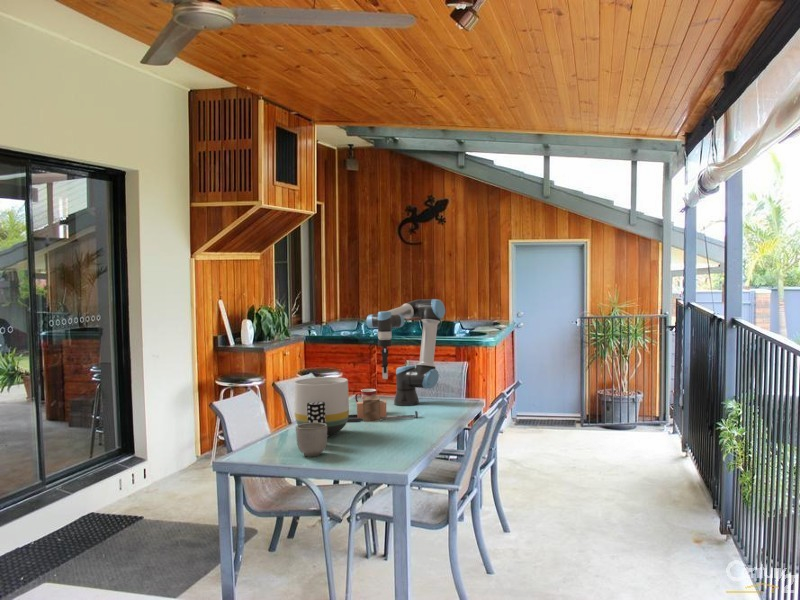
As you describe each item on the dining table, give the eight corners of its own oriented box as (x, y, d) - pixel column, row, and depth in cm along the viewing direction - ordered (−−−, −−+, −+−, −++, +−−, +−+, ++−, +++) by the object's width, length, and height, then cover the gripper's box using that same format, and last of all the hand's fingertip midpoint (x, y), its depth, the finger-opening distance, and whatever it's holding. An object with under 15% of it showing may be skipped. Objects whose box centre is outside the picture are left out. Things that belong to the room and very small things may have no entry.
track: (361, 420, 383) (360, 414, 383) (361, 418, 388) (360, 413, 388) (417, 418, 385) (417, 412, 385) (417, 416, 390) (416, 411, 390)
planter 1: (360, 432, 354) (358, 378, 353) (325, 443, 332) (323, 386, 331) (319, 427, 369) (318, 375, 368) (284, 437, 347) (282, 382, 346)
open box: (363, 421, 380) (363, 400, 380) (363, 417, 392) (363, 396, 392) (380, 420, 380) (379, 399, 380) (380, 416, 392) (379, 396, 392)
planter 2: (334, 453, 311) (333, 424, 310) (310, 460, 300) (309, 430, 300) (313, 449, 320) (312, 421, 320) (290, 455, 310) (289, 426, 309)
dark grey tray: (343, 422, 379) (343, 419, 379) (344, 418, 391) (343, 414, 391) (360, 421, 380) (359, 418, 380) (360, 417, 392) (360, 414, 392)
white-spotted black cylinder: (304, 446, 327) (303, 403, 326) (318, 443, 332) (317, 400, 332) (315, 449, 321) (314, 405, 320) (330, 445, 327) (328, 402, 326)
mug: (379, 412, 405) (378, 389, 405) (373, 415, 397) (372, 391, 396) (359, 411, 410) (358, 388, 409) (353, 414, 401) (352, 390, 401)
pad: (382, 420, 382) (382, 419, 382) (381, 417, 391) (381, 416, 391) (413, 419, 383) (413, 418, 383) (412, 415, 392) (412, 415, 392)
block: (357, 418, 383) (356, 403, 383) (357, 416, 388) (356, 401, 388) (386, 417, 384) (386, 402, 383) (386, 415, 389) (385, 400, 389)
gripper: (377, 338, 402) (378, 375, 402) (378, 340, 377) (378, 380, 377) (390, 338, 402) (391, 375, 402) (392, 340, 377) (392, 380, 377)
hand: (384, 377), depth 390 cm, fingers open, 13 cm apart
